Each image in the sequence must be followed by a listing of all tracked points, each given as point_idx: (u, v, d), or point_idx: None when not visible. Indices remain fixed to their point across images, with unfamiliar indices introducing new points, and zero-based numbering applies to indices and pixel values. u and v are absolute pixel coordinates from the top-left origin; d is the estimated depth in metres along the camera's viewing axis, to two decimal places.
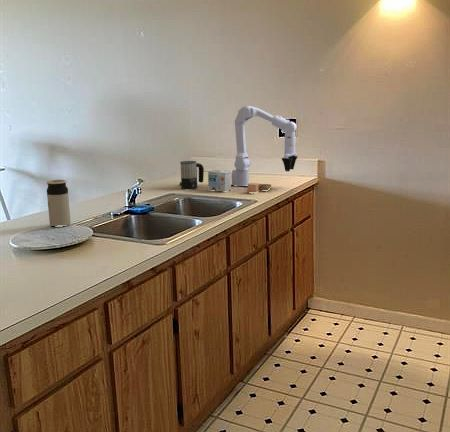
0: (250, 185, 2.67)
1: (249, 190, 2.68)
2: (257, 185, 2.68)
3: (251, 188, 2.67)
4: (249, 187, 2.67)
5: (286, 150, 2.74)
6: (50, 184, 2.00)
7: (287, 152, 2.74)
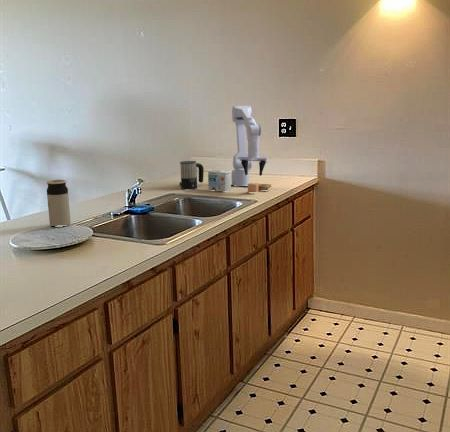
0: (250, 185, 2.67)
1: (249, 190, 2.68)
2: (257, 185, 2.68)
3: (251, 188, 2.67)
4: (249, 187, 2.67)
5: None
6: (50, 184, 2.00)
7: None
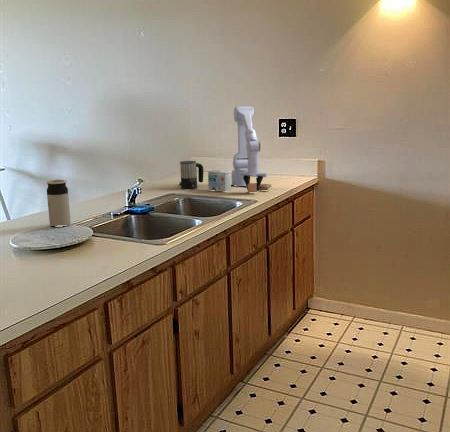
0: (250, 185, 2.67)
1: (249, 190, 2.68)
2: None
3: (251, 188, 2.67)
4: (249, 187, 2.67)
5: None
6: (50, 184, 2.00)
7: None
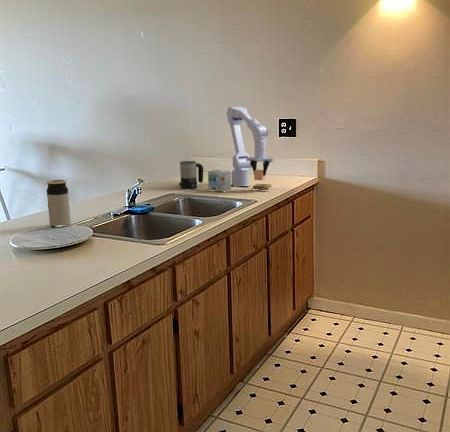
0: (256, 171, 2.71)
1: (255, 176, 2.72)
2: None
3: (257, 174, 2.72)
4: (256, 173, 2.72)
5: None
6: (50, 184, 2.00)
7: None
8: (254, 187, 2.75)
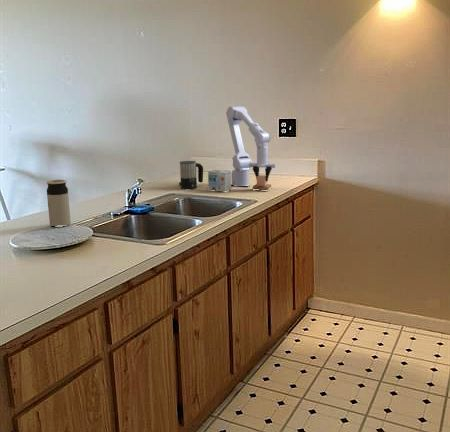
0: (259, 177, 2.74)
1: (258, 182, 2.75)
2: (265, 177, 2.75)
3: (260, 180, 2.74)
4: (258, 179, 2.74)
5: None
6: (50, 184, 2.00)
7: None
8: (254, 187, 2.75)
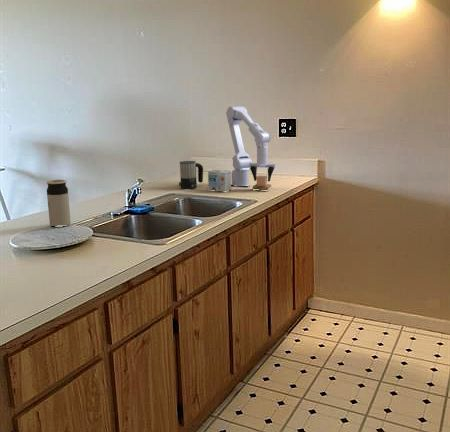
0: (259, 177, 2.74)
1: (258, 182, 2.75)
2: (265, 178, 2.75)
3: (260, 180, 2.74)
4: (258, 179, 2.75)
5: None
6: (50, 184, 2.00)
7: None
8: (254, 187, 2.75)
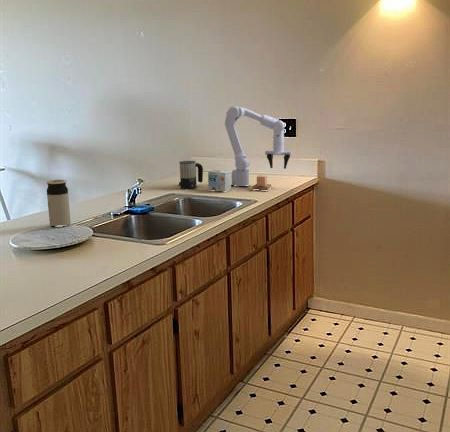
0: (259, 177, 2.74)
1: (258, 182, 2.75)
2: (265, 178, 2.75)
3: (260, 180, 2.74)
4: (258, 179, 2.75)
5: None
6: (50, 184, 2.00)
7: None
8: (254, 187, 2.75)
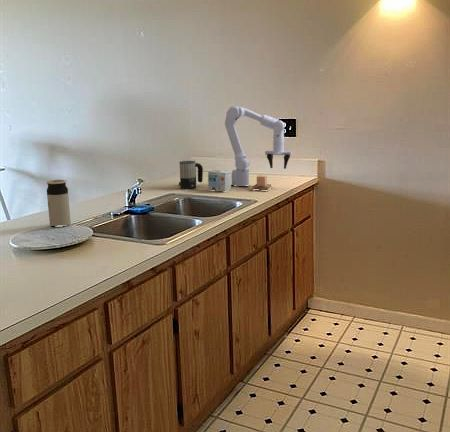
0: (259, 177, 2.74)
1: (258, 182, 2.75)
2: (265, 178, 2.75)
3: (260, 180, 2.74)
4: (258, 179, 2.75)
5: None
6: (50, 184, 2.00)
7: None
8: (254, 187, 2.75)
